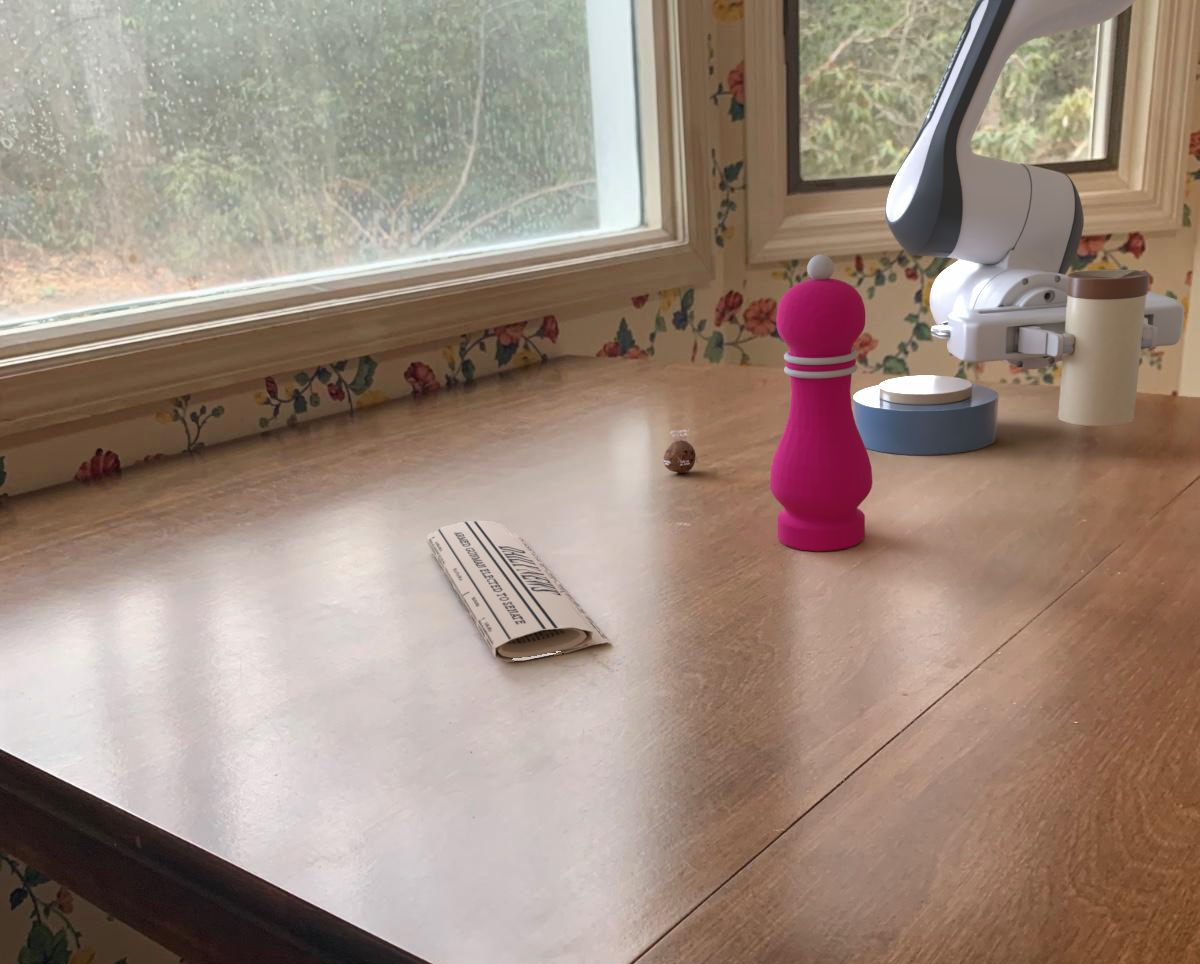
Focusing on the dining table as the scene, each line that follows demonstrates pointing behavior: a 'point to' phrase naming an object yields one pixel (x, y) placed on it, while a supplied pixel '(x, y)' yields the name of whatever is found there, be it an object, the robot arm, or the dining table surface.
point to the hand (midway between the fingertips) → (1108, 342)
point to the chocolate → (680, 455)
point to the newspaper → (510, 592)
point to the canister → (1103, 346)
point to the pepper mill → (821, 416)
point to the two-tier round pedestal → (926, 415)
